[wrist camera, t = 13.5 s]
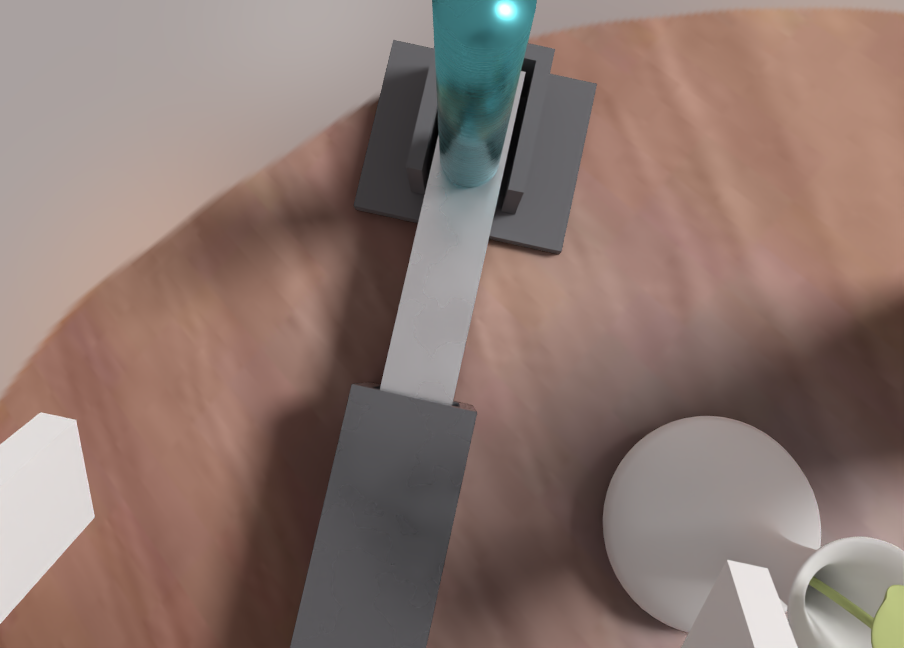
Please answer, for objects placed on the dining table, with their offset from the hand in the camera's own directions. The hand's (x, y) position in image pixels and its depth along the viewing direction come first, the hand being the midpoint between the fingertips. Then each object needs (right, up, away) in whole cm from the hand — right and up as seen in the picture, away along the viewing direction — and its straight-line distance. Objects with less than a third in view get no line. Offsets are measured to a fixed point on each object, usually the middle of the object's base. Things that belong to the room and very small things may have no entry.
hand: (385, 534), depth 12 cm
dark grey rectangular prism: (-2, -7, +22) cm, 23 cm away
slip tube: (+1, +7, +22) cm, 23 cm away
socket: (+3, +14, +23) cm, 27 cm away
